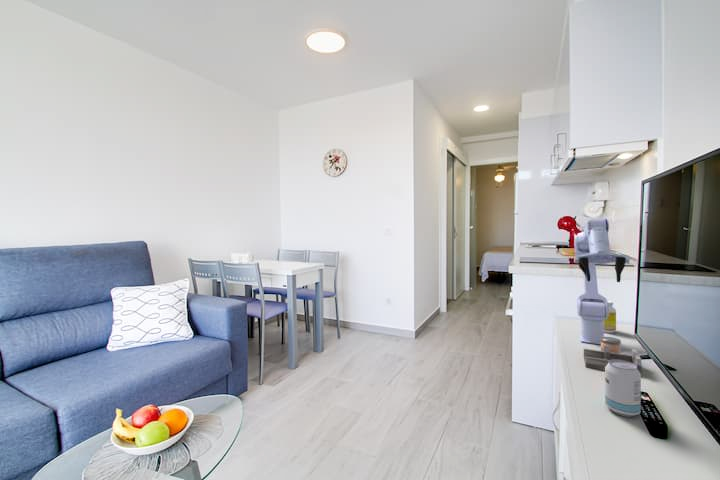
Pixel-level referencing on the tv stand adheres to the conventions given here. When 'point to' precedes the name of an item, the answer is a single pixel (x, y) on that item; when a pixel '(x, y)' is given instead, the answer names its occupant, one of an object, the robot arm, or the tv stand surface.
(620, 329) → the tv stand surface
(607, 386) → the beverage can
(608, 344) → the jar
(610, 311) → the supplement bottle
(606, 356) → the pusher plate
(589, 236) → the robot arm
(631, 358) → the tray
